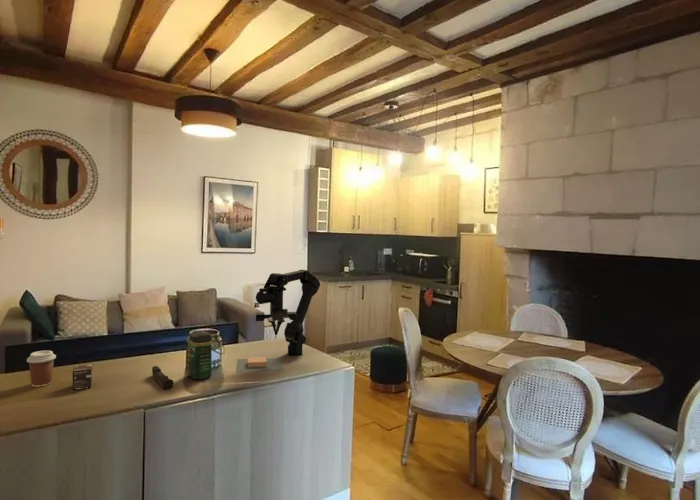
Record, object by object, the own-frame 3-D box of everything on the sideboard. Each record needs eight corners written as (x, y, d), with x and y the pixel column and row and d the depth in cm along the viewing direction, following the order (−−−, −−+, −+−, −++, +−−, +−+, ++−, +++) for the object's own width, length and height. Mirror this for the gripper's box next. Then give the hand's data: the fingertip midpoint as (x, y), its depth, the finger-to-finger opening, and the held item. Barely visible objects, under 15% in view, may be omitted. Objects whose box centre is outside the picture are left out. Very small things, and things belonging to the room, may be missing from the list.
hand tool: (173, 389, 166) (173, 377, 166) (162, 391, 163) (162, 379, 163) (160, 374, 181) (160, 363, 181) (150, 376, 178) (150, 365, 178)
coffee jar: (214, 377, 179) (215, 332, 178) (195, 381, 174) (195, 335, 173) (205, 371, 186) (205, 327, 185) (186, 374, 181) (187, 330, 180)
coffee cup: (53, 378, 172) (53, 348, 172) (58, 384, 166) (58, 353, 165) (24, 383, 166) (24, 352, 165) (29, 390, 160) (28, 358, 159)
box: (72, 390, 161) (71, 371, 160) (73, 385, 166) (73, 366, 166) (91, 388, 164) (91, 369, 163) (92, 383, 169) (92, 364, 168)
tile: (266, 357, 198) (248, 357, 197) (266, 361, 192) (247, 362, 190) (266, 362, 199) (248, 362, 197) (266, 367, 192) (247, 367, 190)
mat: (281, 359, 206) (281, 357, 206) (283, 372, 188) (283, 370, 188) (237, 360, 201) (237, 359, 201) (235, 373, 184) (235, 372, 184)
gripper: (256, 304, 189) (255, 340, 190) (299, 304, 194) (298, 338, 195) (255, 300, 200) (254, 334, 201) (296, 299, 205) (295, 332, 206)
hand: (276, 334), depth 201 cm, fingers closed
